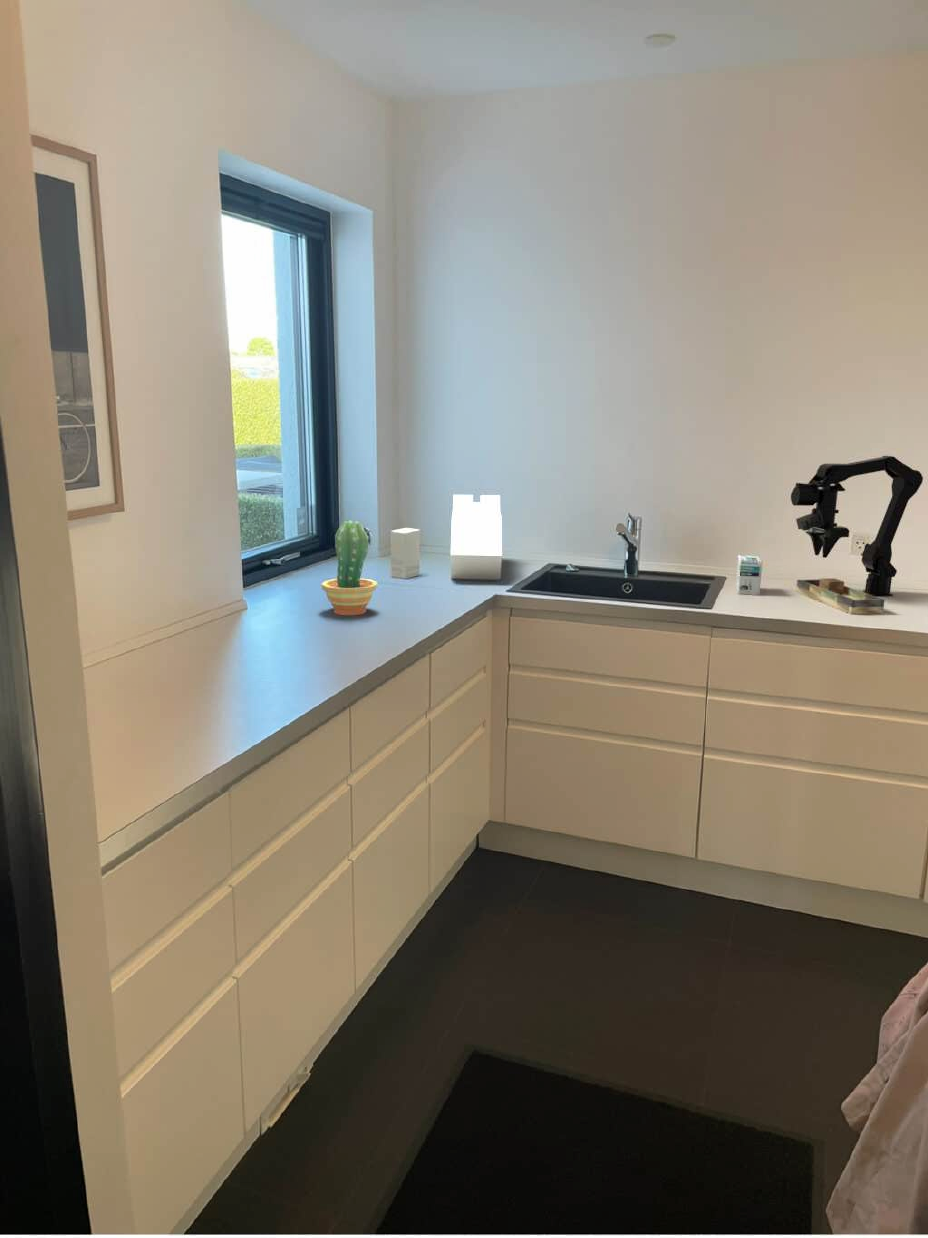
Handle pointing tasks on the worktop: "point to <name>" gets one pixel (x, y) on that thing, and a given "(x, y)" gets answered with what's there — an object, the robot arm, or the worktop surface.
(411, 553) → the skincare box
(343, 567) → the potted cactus
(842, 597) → the box
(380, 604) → the worktop surface
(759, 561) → the light bulb box
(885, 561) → the robot arm
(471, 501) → the storage box
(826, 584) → the walnut block
